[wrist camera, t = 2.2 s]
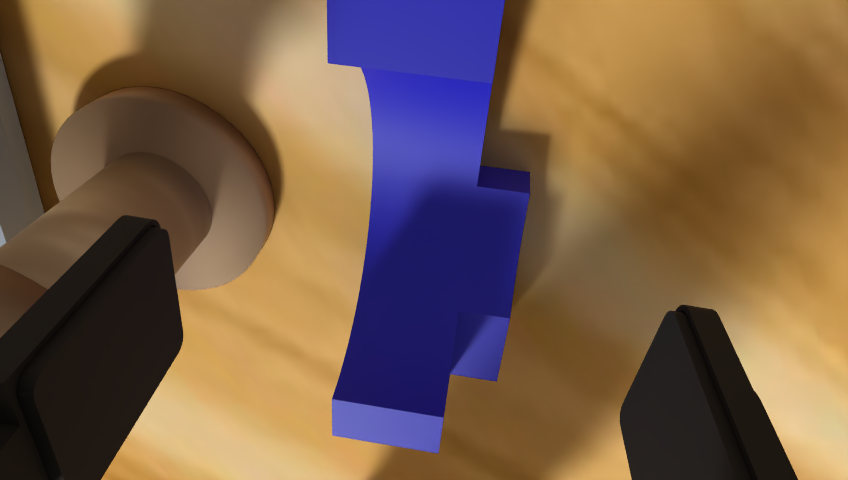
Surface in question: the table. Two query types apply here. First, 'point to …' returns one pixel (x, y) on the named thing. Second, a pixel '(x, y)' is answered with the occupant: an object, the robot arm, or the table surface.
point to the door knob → (144, 193)
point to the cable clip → (426, 216)
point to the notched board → (14, 170)
